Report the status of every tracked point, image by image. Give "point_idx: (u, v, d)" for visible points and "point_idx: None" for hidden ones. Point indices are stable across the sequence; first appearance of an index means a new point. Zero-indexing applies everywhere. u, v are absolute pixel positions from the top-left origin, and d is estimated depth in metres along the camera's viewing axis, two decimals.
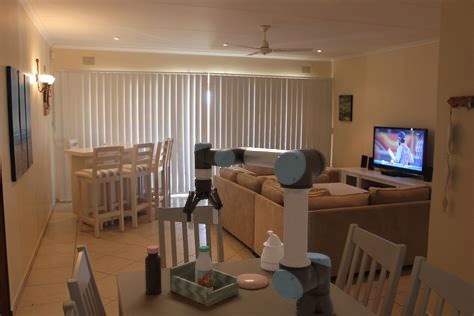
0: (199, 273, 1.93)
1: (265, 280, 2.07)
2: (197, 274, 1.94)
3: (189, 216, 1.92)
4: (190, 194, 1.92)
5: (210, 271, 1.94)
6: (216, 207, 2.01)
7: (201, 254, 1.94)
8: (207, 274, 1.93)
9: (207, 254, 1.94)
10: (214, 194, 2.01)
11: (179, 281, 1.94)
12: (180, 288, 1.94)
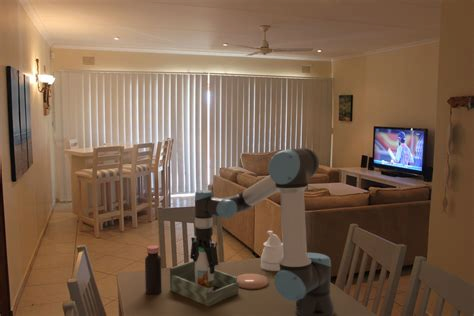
0: (199, 273, 1.93)
1: (265, 280, 2.07)
2: (197, 274, 1.94)
3: (194, 262, 1.99)
4: None
5: None
6: (209, 263, 1.93)
7: (201, 254, 1.94)
8: (207, 274, 1.93)
9: None
10: None
11: (179, 281, 1.94)
12: (180, 288, 1.94)
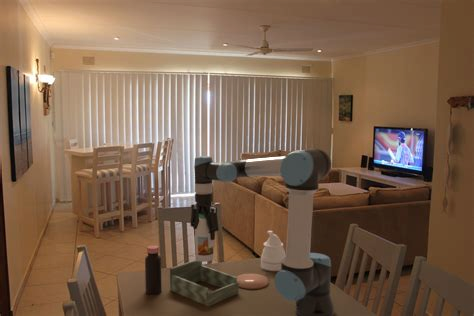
0: (199, 239, 1.91)
1: (265, 280, 2.07)
2: (197, 241, 1.92)
3: (194, 230, 1.98)
4: None
5: None
6: None
7: (201, 220, 1.92)
8: None
9: None
10: None
11: (179, 281, 1.94)
12: (180, 288, 1.94)
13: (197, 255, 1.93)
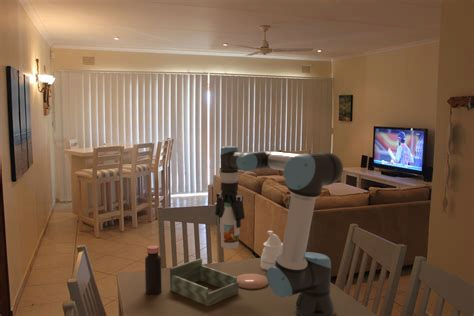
0: (225, 227, 1.96)
1: (265, 280, 2.07)
2: (223, 228, 1.97)
3: (219, 218, 2.02)
4: None
5: None
6: None
7: (227, 209, 1.97)
8: (233, 228, 1.97)
9: None
10: None
11: (179, 281, 1.94)
12: (180, 288, 1.94)
13: (223, 242, 1.98)
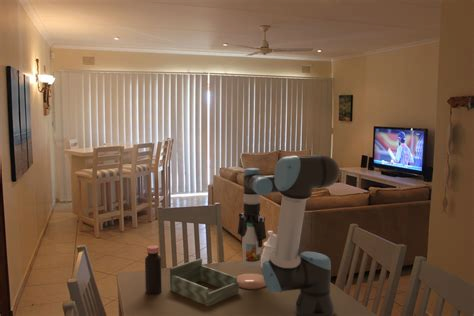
0: (248, 247, 2.03)
1: None
2: (246, 248, 2.04)
3: (242, 237, 2.09)
4: None
5: None
6: None
7: (249, 229, 2.04)
8: (255, 248, 2.03)
9: None
10: None
11: (179, 281, 1.94)
12: (180, 288, 1.94)
13: (245, 261, 2.05)
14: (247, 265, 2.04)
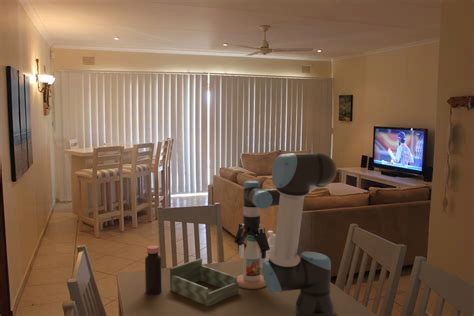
0: (248, 261, 2.04)
1: None
2: (246, 262, 2.04)
3: (238, 246, 2.11)
4: None
5: (258, 259, 2.05)
6: (260, 248, 2.02)
7: (249, 243, 2.04)
8: (256, 263, 2.04)
9: (255, 243, 2.05)
10: None
11: (179, 281, 1.94)
12: (180, 288, 1.94)
13: (245, 276, 2.05)
14: (247, 280, 2.05)
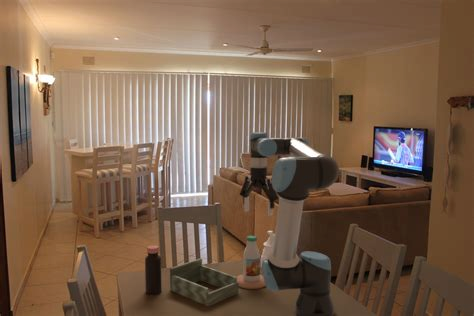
0: (248, 261, 2.04)
1: None
2: (246, 262, 2.04)
3: (244, 198, 2.10)
4: None
5: (258, 259, 2.05)
6: (269, 198, 2.00)
7: (249, 243, 2.04)
8: (255, 263, 2.04)
9: (255, 243, 2.05)
10: None
11: (179, 281, 1.94)
12: (180, 288, 1.94)
13: (245, 276, 2.05)
14: (247, 280, 2.05)
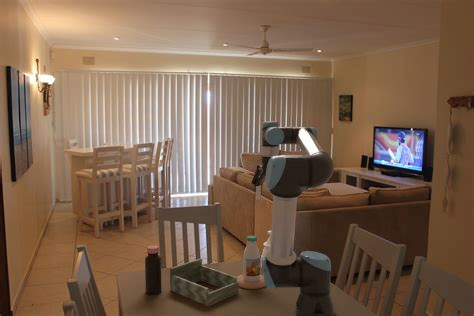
0: (248, 261, 2.04)
1: None
2: (246, 262, 2.04)
3: (255, 187, 2.13)
4: None
5: (258, 259, 2.05)
6: None
7: (249, 243, 2.04)
8: (255, 263, 2.04)
9: (255, 243, 2.05)
10: None
11: (179, 281, 1.94)
12: (180, 288, 1.94)
13: (245, 276, 2.05)
14: (247, 280, 2.05)
